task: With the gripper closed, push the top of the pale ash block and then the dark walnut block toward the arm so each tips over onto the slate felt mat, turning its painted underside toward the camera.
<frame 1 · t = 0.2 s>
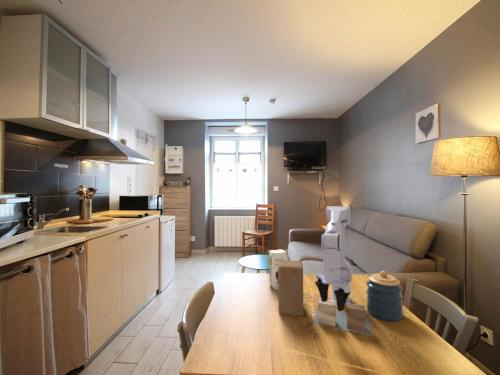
hand: (332, 305, 84), 10 cm above the table, fingers open, 7 cm apart
walnut block: (356, 328, 87), resting on felt mat
felt mat: (341, 321, 92), on the table
wooden block: (291, 311, 101), on the table
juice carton: (278, 287, 126), on the table
canister: (384, 315, 97), on the table
ash block: (327, 322, 91), resting on felt mat
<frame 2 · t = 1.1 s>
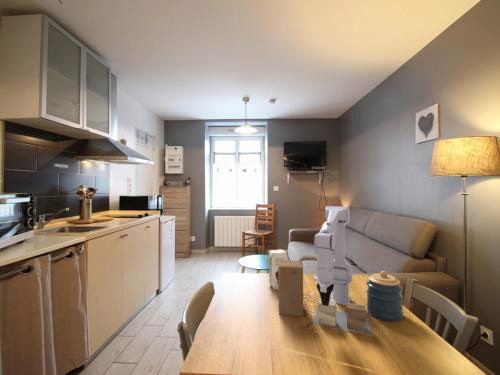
hand: (325, 304, 85), 10 cm above the table, fingers closed
nothing on the table moved.
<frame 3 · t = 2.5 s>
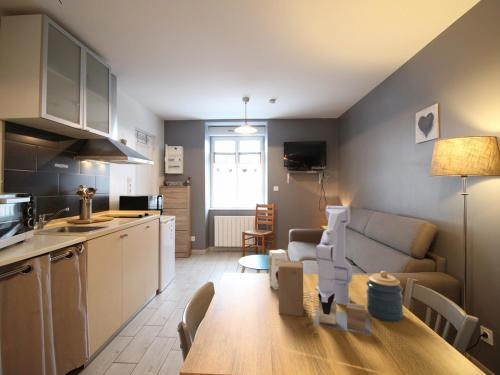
hand: (326, 313, 89), 5 cm above the table, fingers closed
ash block: (327, 321, 91), point 1 cm above the table, tilted 12°, touching felt mat
everything else where it was.
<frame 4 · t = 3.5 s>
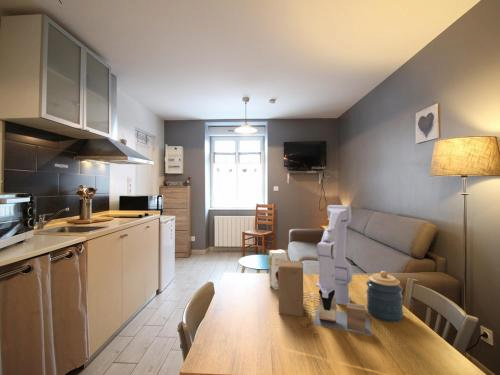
hand: (327, 309, 91), 5 cm above the table, fingers closed, pressing on ash block
ash block: (327, 320, 91), point 1 cm above the table, tilted 29°, touching felt mat, gripper
everything else where it was.
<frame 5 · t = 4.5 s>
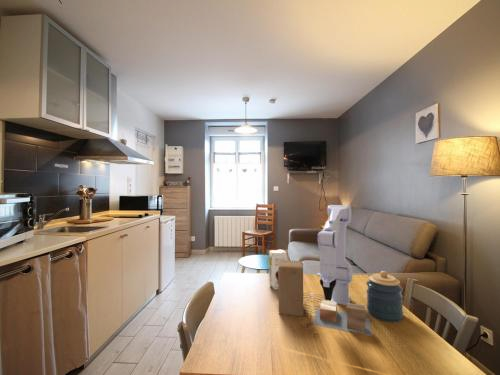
hand: (328, 299, 89), 10 cm above the table, fingers closed
ash block: (327, 315, 92), point 2 cm above the table, tilted 90°, touching felt mat
everything else where it was.
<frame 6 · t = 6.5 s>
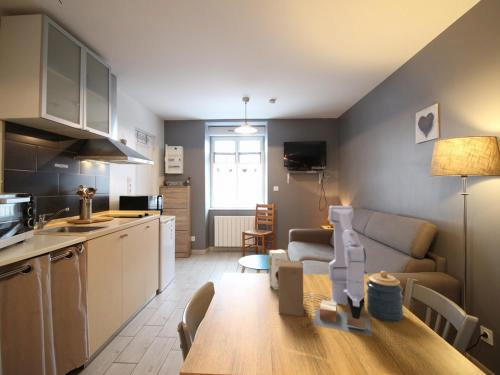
hand: (355, 317, 86), 5 cm above the table, fingers closed
walnut block: (356, 326, 87), point 1 cm above the table, tilted 17°, touching felt mat, gripper
everything else where it was.
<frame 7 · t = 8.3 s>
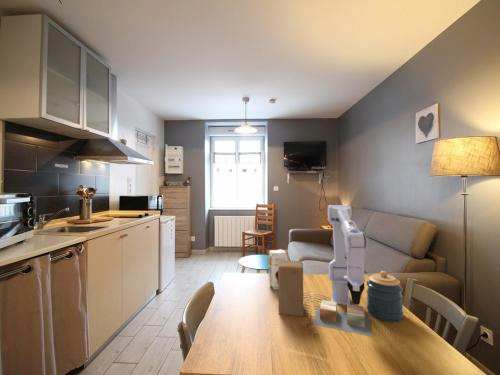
hand: (356, 303, 86), 10 cm above the table, fingers closed
walnut block: (355, 320, 89), point 2 cm above the table, tilted 90°, touching felt mat
everything else where it was.
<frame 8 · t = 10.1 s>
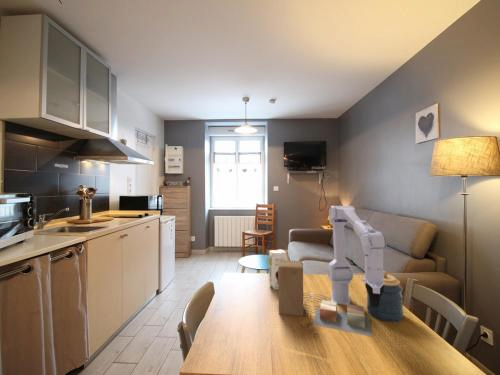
hand: (374, 306, 83), 10 cm above the table, fingers closed
nothing on the table moved.
at the end: ash block tilted 90°; walnut block tilted 90°; ash block inside the target area (3.8 cm from its centre), point 2.4 cm above the table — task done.
